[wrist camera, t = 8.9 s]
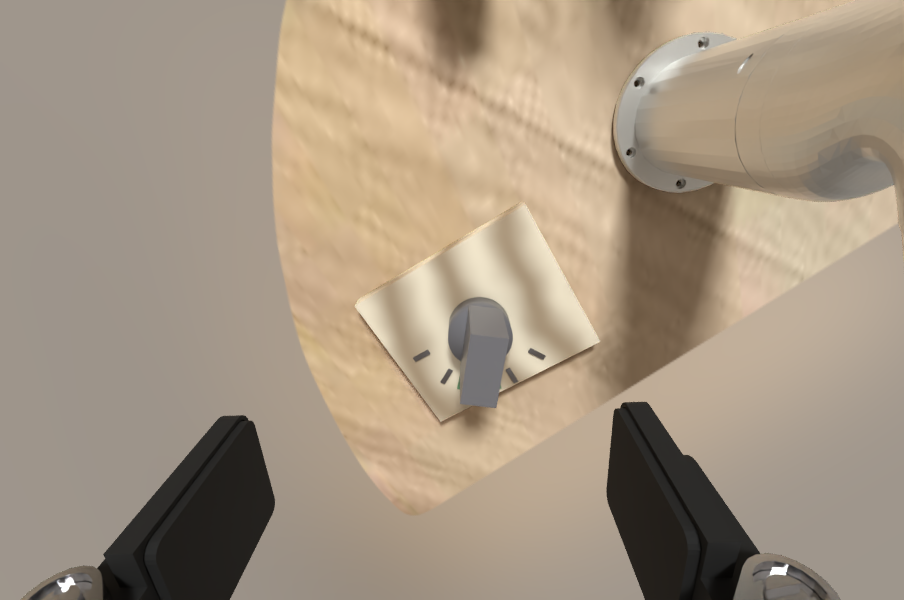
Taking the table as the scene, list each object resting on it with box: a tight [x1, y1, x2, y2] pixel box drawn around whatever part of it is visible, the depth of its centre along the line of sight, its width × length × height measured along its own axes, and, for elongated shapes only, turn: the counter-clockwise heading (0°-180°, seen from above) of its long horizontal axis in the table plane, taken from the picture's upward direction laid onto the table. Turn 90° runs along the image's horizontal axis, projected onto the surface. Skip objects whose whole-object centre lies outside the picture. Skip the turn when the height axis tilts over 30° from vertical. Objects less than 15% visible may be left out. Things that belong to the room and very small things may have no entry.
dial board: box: [355, 201, 600, 422], centre depth 44 cm, size 19×16×2 cm
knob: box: [448, 297, 513, 408], centre depth 40 cm, size 11×6×9 cm, turn 173°
